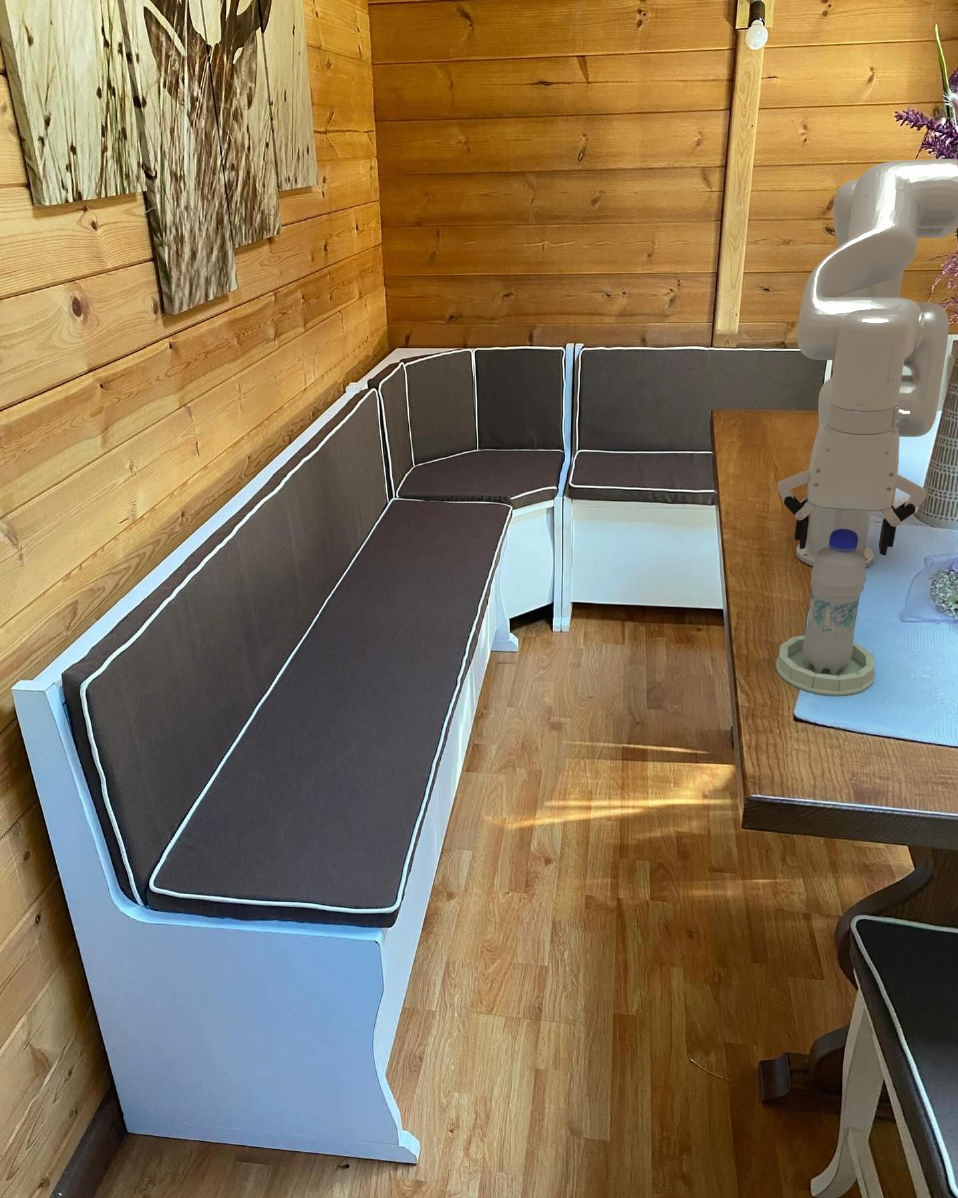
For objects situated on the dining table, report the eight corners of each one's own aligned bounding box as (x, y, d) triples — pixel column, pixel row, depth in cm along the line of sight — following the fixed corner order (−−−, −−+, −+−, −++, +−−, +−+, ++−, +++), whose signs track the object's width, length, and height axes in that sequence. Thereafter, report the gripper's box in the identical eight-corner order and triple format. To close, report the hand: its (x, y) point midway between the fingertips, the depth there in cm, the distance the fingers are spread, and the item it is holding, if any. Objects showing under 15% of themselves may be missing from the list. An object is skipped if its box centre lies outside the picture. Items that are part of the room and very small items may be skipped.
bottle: (809, 649, 127) (828, 517, 118) (858, 663, 123) (880, 527, 114) (791, 669, 122) (808, 533, 114) (840, 684, 118) (862, 544, 110)
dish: (777, 643, 130) (779, 629, 129) (871, 654, 126) (873, 639, 125) (774, 688, 119) (776, 673, 118) (876, 701, 116) (879, 685, 115)
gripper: (936, 411, 108) (912, 541, 116) (785, 406, 113) (772, 531, 121) (944, 430, 102) (918, 566, 110) (783, 424, 107) (770, 554, 115)
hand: (841, 547), depth 115 cm, fingers open, 9 cm apart
